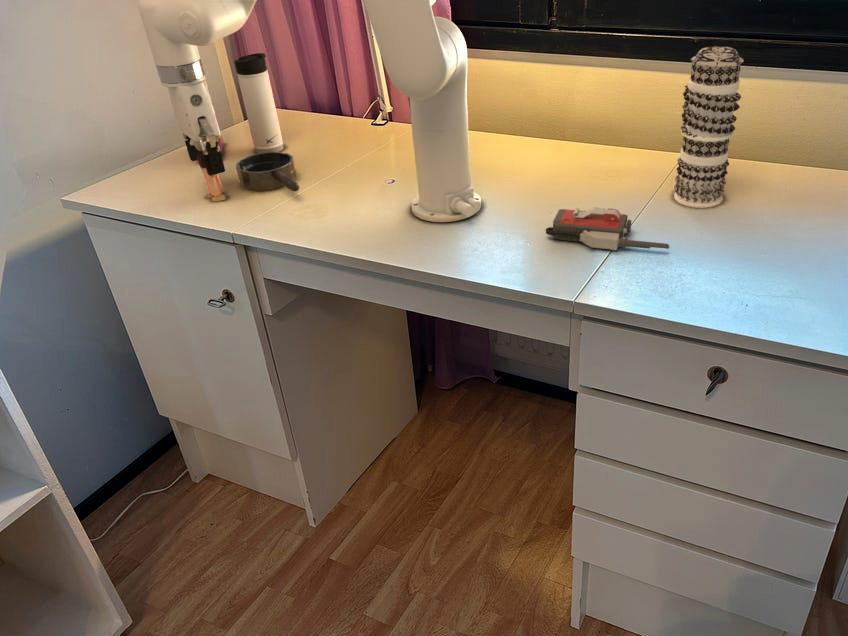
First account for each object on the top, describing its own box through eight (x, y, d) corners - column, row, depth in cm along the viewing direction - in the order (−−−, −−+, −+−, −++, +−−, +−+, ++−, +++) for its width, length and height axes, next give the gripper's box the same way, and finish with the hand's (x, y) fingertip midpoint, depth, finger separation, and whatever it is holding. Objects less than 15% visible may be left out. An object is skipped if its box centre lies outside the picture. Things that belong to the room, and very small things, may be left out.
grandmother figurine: (235, 198, 141) (218, 132, 133) (217, 204, 138) (198, 139, 131) (214, 188, 145) (196, 124, 138) (197, 194, 143) (178, 130, 135)
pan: (305, 181, 146) (302, 162, 143) (253, 197, 141) (248, 177, 138) (283, 166, 153) (279, 147, 151) (232, 180, 148) (227, 161, 146)
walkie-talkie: (541, 245, 119) (667, 258, 113) (541, 220, 116) (670, 232, 111) (554, 222, 125) (673, 233, 120) (554, 197, 123) (676, 208, 117)
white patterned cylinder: (661, 200, 130) (677, 52, 116) (688, 183, 136) (706, 40, 121) (708, 213, 125) (730, 60, 110) (734, 195, 130) (758, 47, 116)
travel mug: (278, 155, 158) (257, 58, 147) (250, 154, 160) (227, 58, 148) (290, 144, 163) (270, 50, 152) (262, 144, 165) (241, 50, 153)
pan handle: (301, 191, 136) (299, 182, 135) (292, 194, 135) (290, 184, 134) (280, 176, 143) (278, 167, 142) (271, 178, 142) (269, 170, 141)
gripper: (219, 77, 124) (243, 173, 134) (186, 59, 136) (211, 149, 146) (175, 86, 121) (203, 185, 131) (145, 67, 132) (174, 159, 142)
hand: (207, 166), depth 138 cm, fingers open, 9 cm apart
